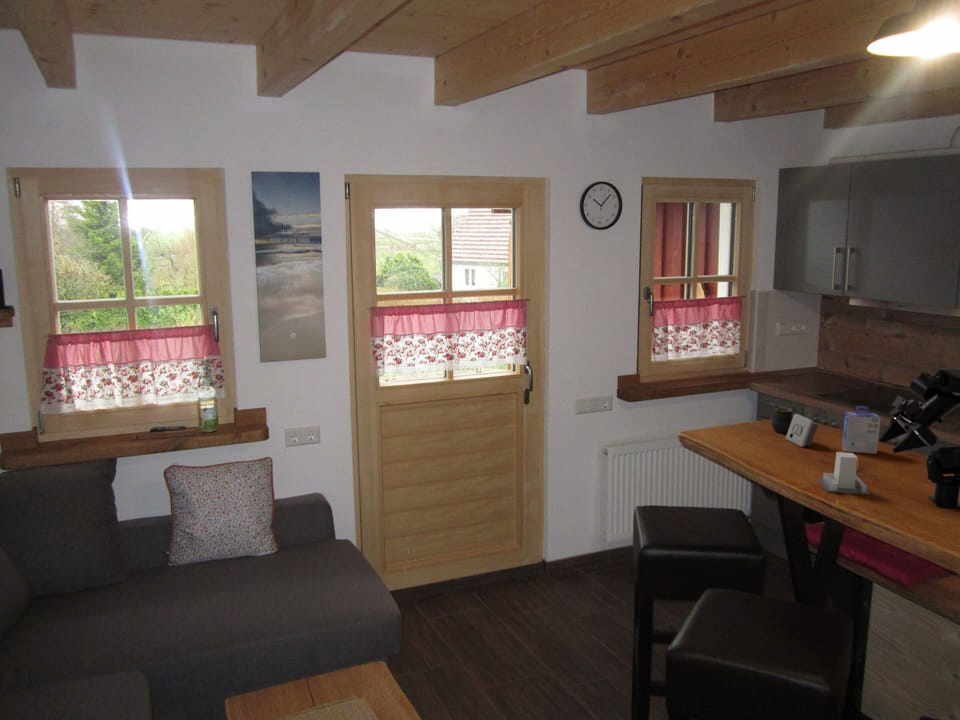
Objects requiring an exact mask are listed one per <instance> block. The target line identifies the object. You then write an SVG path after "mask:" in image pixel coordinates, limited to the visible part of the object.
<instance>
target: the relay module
mask: <svg viewBox="0 0 960 720" xmlns="http://www.w3.org/2000/svg"><path fill="white" fill-rule="evenodd" d="M859 463H860V461H859V458H858V457H857V455H856V454H854V452H844V451H843V452H841V451H836V454H835V462H834V470H833V471H834V472H833V473H834V481H835V482H836V483H837V488H847V489H854V488H855V479H856V475H857V471H858V469H859V465H860V464H859Z"/></svg>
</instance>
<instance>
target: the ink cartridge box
mask: <svg viewBox="0 0 960 720" xmlns="http://www.w3.org/2000/svg"><path fill="white" fill-rule="evenodd" d="M860 409H864V410H860ZM881 420H882V419H881V416H880V415H878V414H877V413H873V412H869V406H864V405H856V410H855V412H850V411H845V412H844V423H843V432H842V433H843V434H842V442H841V443H842V444H841V448H842V450H843V452H845V453H861V454H862V453H863V454H875V455H876V454H877V453H878V443H879V436H880V426H881Z"/></svg>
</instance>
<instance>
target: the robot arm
mask: <svg viewBox="0 0 960 720" xmlns="http://www.w3.org/2000/svg"><path fill="white" fill-rule="evenodd" d="M909 389H910V391H911V392H912V393H913V394H914V395H916V396H917V397H918V398H920V399H922V401H919V402H918V401H916V400H914V399H909V400H908V399H906V398H904V397H902V396H900V395H897V396H896V398H895V399H894V401H893V402H892V404H891V407H894V408H893V409H891V410H890V411H889V412H888V413H889V416H888V417H889V424H888V426H887V428H886V429H885V431H884V432H883V433H882V435H881V436H880V437H879V438H878V442H880V443H881V444H883V443H885V442H888V441H890V440H894V439H895V438H899V437H901V436H902V435H905V434H906V436H904V438H902V439H901V440H900V441H899V442H898V443H897V444H896V445H895V446H894V447H893V449H892V452H893V453H894V454H898V453H902V452H906V451H910V450H915V449H920V448H928V446H929V447H930V448H932V447H933V446H934V445H936V444H937V443H938V441H939V439H938V438H939V437H938V436H937V435H936V434H935V432H933V431H932V430H931V427H932V426H934V425H935V424H942V423H943V420H942V419H943V418H944V417H946V416H947V415H948V414H950V413H951V412H952V411H953V410H954V409H956V408H957V407H959V408H960V368H940V369H939V370H938V371H937V372H936V374H935V375H932V374H931V373H930V372H927V371H924V372H920V375H919V376H917V377H915V378H914V379H913V381H911V382H910V385H909ZM958 394H959V395H958ZM923 401H924V402H923ZM930 452H931V453H929V454H928V456H927V459H926V462H925V463H926V464H925V465H926V471H927V472H926V473H927V479H928V480H929V481H931V482H930V483H933V484H934V493H933V496H927V499H928V500H929V501H931V502H932V504H934V505H935V506H936V507H938V508H955V509H960V502H959V498H960V446H941V447H940V448H938V449H935V450H931V451H930Z"/></svg>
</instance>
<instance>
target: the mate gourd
mask: <svg viewBox="0 0 960 720" xmlns="http://www.w3.org/2000/svg"><path fill="white" fill-rule="evenodd" d="M774 406H775V411H774V412H775V413H774V414H773V417H772V420H771V427H772V428H773V430H774V431H775V432H777V433H779V434H787V433H788V430H789V427H790V424H791V422H792V419H793V416H792V415H793V409H791V408H789V407H788V408H787V407H784V406H783V407H778V405H777V404H776V405H774Z"/></svg>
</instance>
